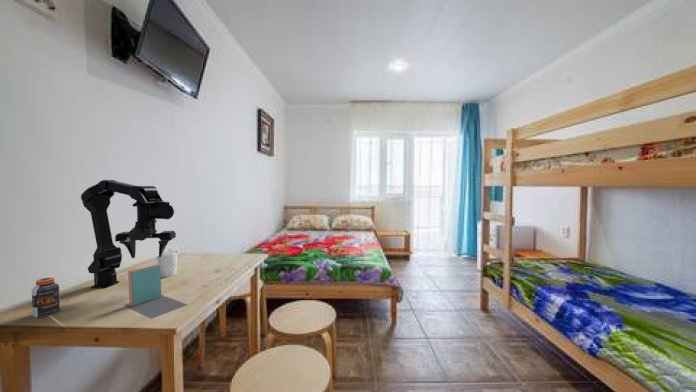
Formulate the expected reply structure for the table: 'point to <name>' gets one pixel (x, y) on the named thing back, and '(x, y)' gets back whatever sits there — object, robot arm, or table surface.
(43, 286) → the pill bottle
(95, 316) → the table surface
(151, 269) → the tile
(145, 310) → the mat
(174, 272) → the white cup
